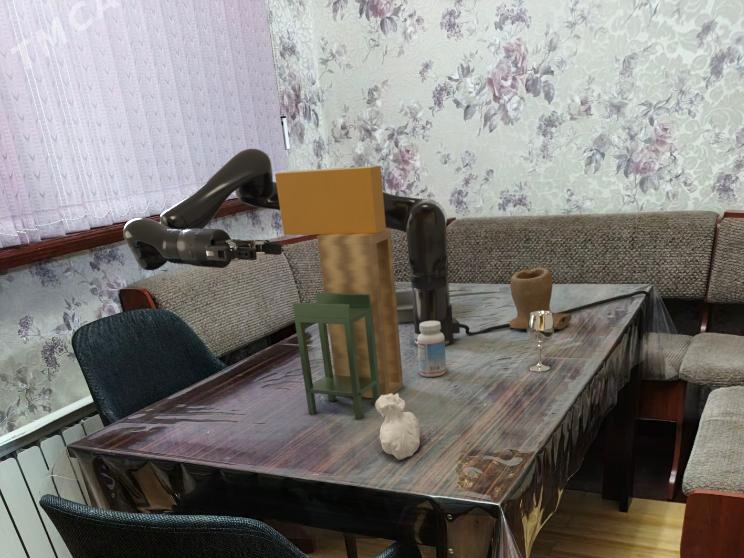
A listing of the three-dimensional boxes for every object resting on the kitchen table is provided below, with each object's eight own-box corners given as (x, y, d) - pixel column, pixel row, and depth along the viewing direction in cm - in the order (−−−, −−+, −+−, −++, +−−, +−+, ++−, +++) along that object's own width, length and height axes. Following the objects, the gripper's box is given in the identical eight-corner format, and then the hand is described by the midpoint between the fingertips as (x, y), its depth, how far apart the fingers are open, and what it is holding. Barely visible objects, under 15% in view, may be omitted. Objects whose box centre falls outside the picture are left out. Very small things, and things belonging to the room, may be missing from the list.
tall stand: (337, 395, 152) (316, 236, 136) (355, 383, 158) (337, 229, 142) (386, 399, 147) (371, 235, 131) (403, 386, 153) (390, 228, 137)
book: (283, 235, 141) (274, 173, 136) (294, 231, 144) (286, 171, 139) (376, 233, 133) (370, 167, 127) (386, 230, 136) (380, 165, 130)
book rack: (309, 414, 144) (292, 303, 133) (331, 399, 150) (317, 292, 139) (360, 419, 139) (347, 305, 128) (381, 403, 146) (370, 293, 134)
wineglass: (552, 372, 154) (554, 316, 148) (525, 372, 155) (526, 317, 149) (553, 364, 159) (554, 309, 153) (527, 364, 160) (527, 310, 154)
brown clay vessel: (502, 334, 183) (502, 273, 175) (516, 322, 192) (516, 264, 185) (560, 336, 177) (563, 274, 169) (572, 324, 186) (574, 264, 178)
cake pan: (463, 306, 213) (463, 290, 210) (421, 327, 195) (420, 310, 193) (395, 302, 225) (393, 287, 223) (349, 321, 207) (348, 305, 205)
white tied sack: (411, 448, 130) (372, 400, 128) (441, 426, 126) (401, 376, 124) (388, 476, 121) (345, 425, 118) (420, 454, 116) (376, 400, 114)
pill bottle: (449, 369, 161) (447, 319, 156) (442, 378, 156) (439, 327, 151) (424, 368, 163) (421, 319, 158) (416, 377, 158) (412, 326, 153)
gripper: (178, 232, 141) (244, 235, 134) (224, 225, 152) (287, 227, 146) (184, 271, 144) (248, 276, 138) (228, 262, 156) (290, 266, 149)
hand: (268, 251), depth 142 cm, fingers open, 8 cm apart
